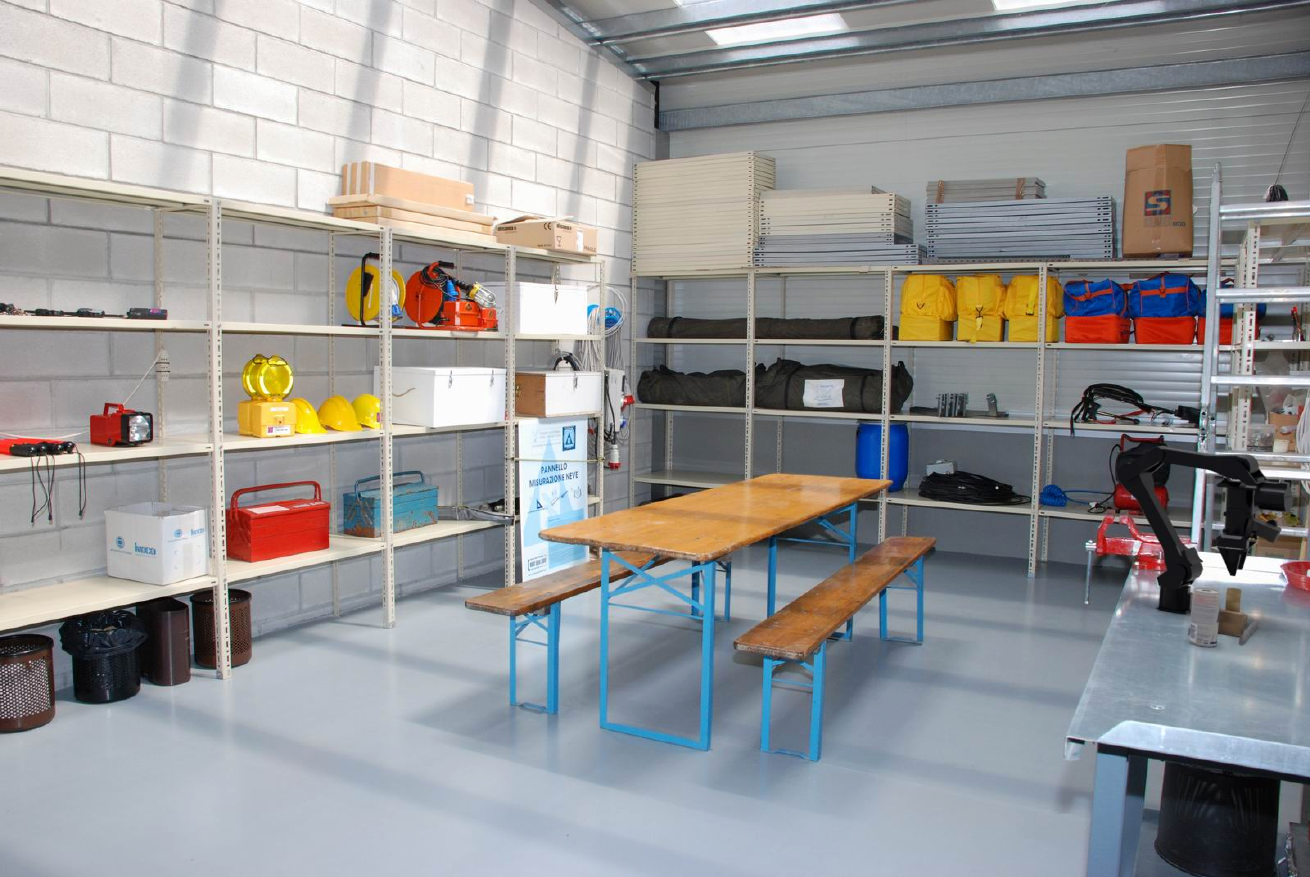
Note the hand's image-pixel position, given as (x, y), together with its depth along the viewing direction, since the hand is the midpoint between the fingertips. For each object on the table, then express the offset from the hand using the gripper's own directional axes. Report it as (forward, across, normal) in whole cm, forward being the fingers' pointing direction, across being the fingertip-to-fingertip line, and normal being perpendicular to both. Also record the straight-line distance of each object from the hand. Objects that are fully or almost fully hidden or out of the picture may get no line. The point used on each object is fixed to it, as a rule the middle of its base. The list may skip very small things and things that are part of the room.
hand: (1236, 572), depth 232 cm
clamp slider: (+12, -6, +1) cm, 13 cm away
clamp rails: (+12, -10, +1) cm, 16 cm away
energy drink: (+12, -24, +2) cm, 27 cm away
